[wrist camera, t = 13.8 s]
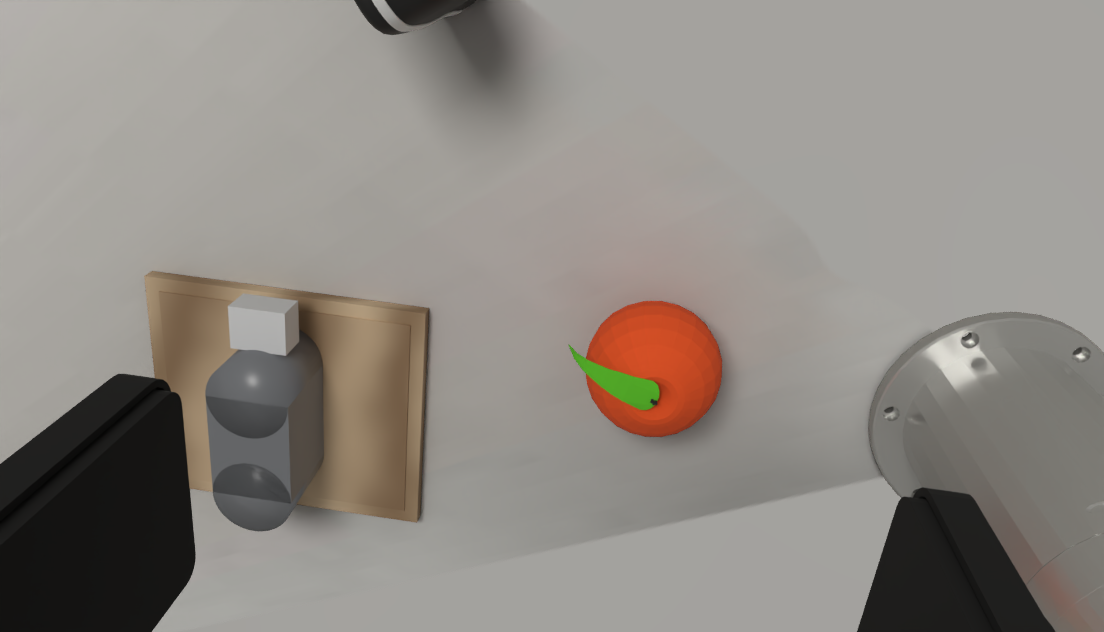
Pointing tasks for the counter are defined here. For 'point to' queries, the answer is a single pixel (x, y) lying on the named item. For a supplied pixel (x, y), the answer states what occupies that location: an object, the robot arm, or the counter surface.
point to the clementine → (653, 368)
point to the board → (348, 385)
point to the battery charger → (408, 13)
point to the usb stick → (265, 414)
